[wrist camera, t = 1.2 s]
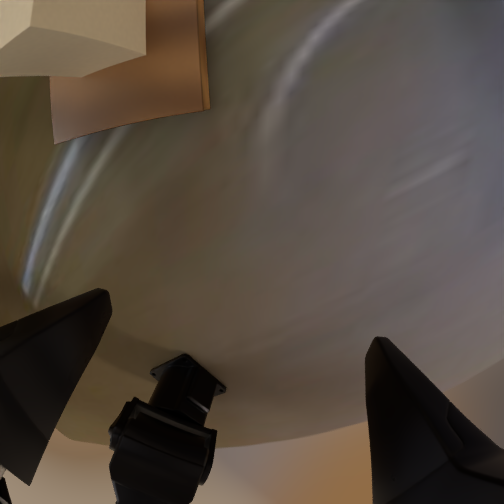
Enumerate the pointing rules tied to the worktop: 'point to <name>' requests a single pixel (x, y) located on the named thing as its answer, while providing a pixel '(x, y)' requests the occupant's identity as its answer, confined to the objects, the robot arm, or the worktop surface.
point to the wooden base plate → (140, 77)
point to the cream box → (69, 36)
